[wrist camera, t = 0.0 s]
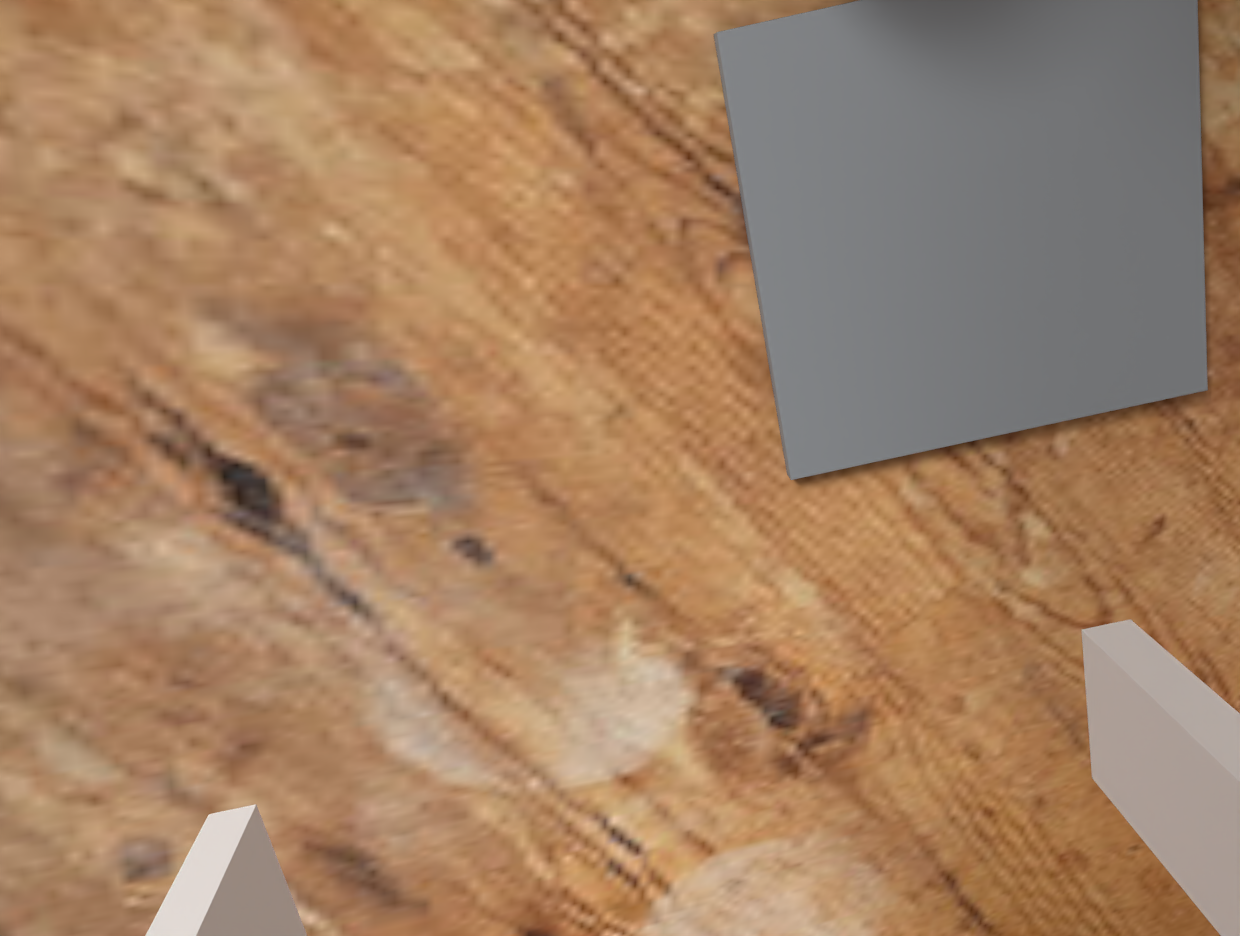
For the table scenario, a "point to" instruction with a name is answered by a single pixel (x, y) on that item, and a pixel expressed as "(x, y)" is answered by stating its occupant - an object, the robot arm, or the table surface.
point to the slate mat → (969, 216)
